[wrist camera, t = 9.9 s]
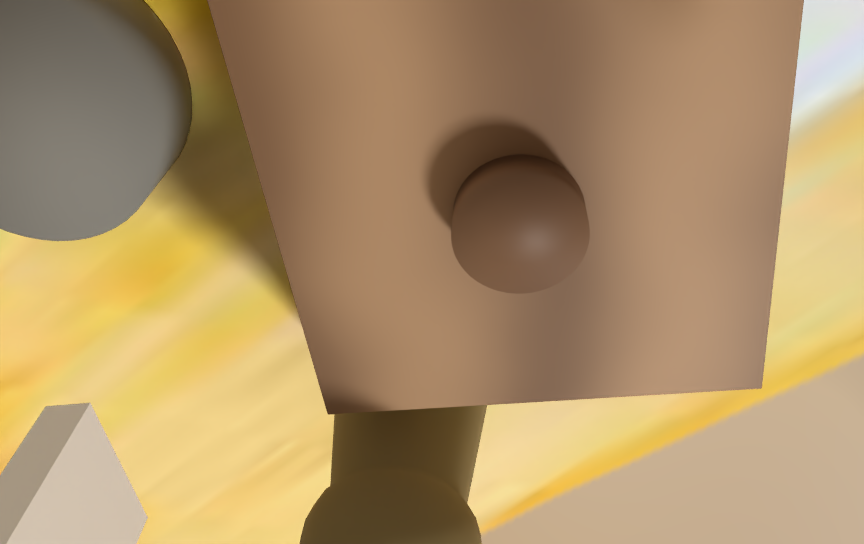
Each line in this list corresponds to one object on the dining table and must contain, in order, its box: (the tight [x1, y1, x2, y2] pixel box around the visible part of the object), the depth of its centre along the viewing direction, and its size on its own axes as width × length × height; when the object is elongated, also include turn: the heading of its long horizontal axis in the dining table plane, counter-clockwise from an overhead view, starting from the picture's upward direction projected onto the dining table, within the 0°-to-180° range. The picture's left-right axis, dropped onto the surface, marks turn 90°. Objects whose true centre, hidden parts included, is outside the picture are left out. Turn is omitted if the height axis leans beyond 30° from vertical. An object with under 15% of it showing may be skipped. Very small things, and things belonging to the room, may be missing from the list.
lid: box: [207, 0, 804, 414], centre depth 19 cm, size 12×12×4 cm
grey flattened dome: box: [0, 0, 192, 241], centre depth 24 cm, size 8×8×3 cm
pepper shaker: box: [300, 405, 487, 544], centre depth 25 cm, size 6×6×11 cm
